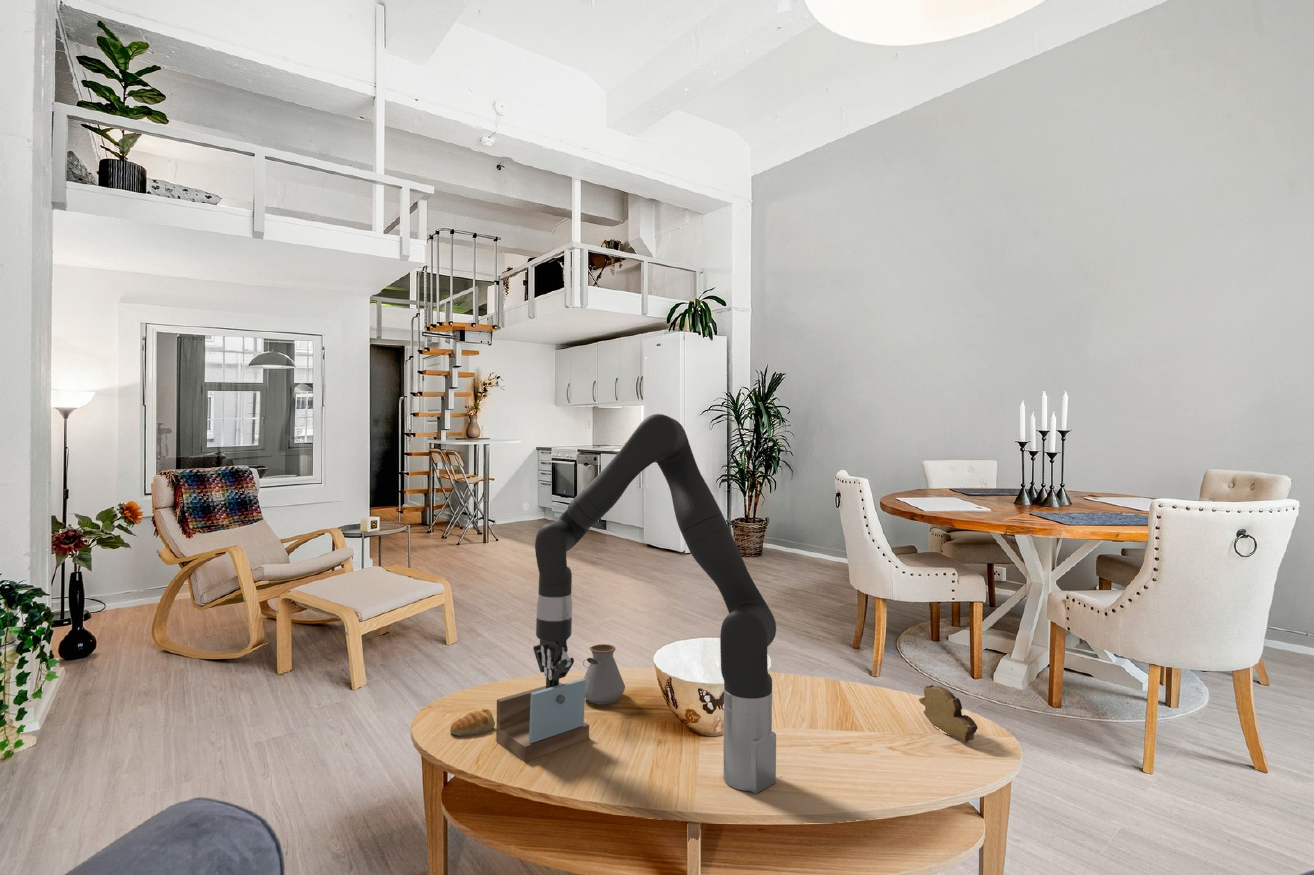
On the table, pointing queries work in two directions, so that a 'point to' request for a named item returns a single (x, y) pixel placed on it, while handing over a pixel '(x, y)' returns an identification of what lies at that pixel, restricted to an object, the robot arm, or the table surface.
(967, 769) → the table surface
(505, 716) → the brown wooden l-shaped piece
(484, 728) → the pastry
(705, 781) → the table surface
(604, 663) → the coffee pot
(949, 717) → the wooden carving
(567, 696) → the light blue flat panel
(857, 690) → the table surface
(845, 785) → the table surface
